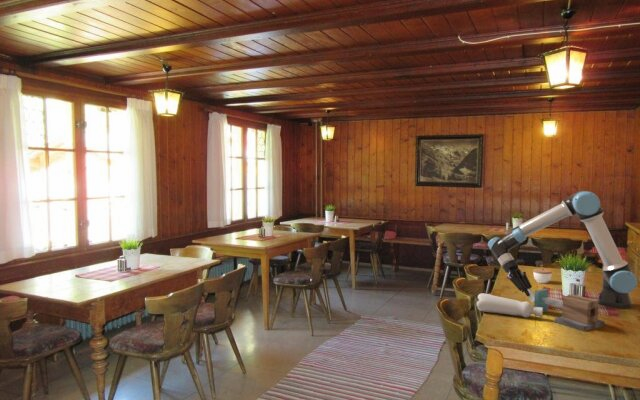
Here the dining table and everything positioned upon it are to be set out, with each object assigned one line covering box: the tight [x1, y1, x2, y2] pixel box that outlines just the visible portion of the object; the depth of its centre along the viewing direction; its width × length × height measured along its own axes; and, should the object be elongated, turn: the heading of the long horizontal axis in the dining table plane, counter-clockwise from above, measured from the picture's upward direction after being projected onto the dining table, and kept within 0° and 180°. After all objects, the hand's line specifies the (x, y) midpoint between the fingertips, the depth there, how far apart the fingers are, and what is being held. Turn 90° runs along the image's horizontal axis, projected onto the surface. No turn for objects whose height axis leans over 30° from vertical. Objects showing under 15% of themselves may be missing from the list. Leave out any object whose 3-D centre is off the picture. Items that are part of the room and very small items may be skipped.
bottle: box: [476, 292, 544, 319], centre depth 231 cm, size 9×9×30 cm
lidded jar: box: [532, 267, 553, 284], centre depth 298 cm, size 11×11×9 cm
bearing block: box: [554, 294, 605, 332], centre depth 217 cm, size 16×14×12 cm
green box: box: [533, 288, 563, 313], centre depth 227 cm, size 8×18×11 cm, turn 29°
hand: (534, 301), depth 237 cm, fingers closed
